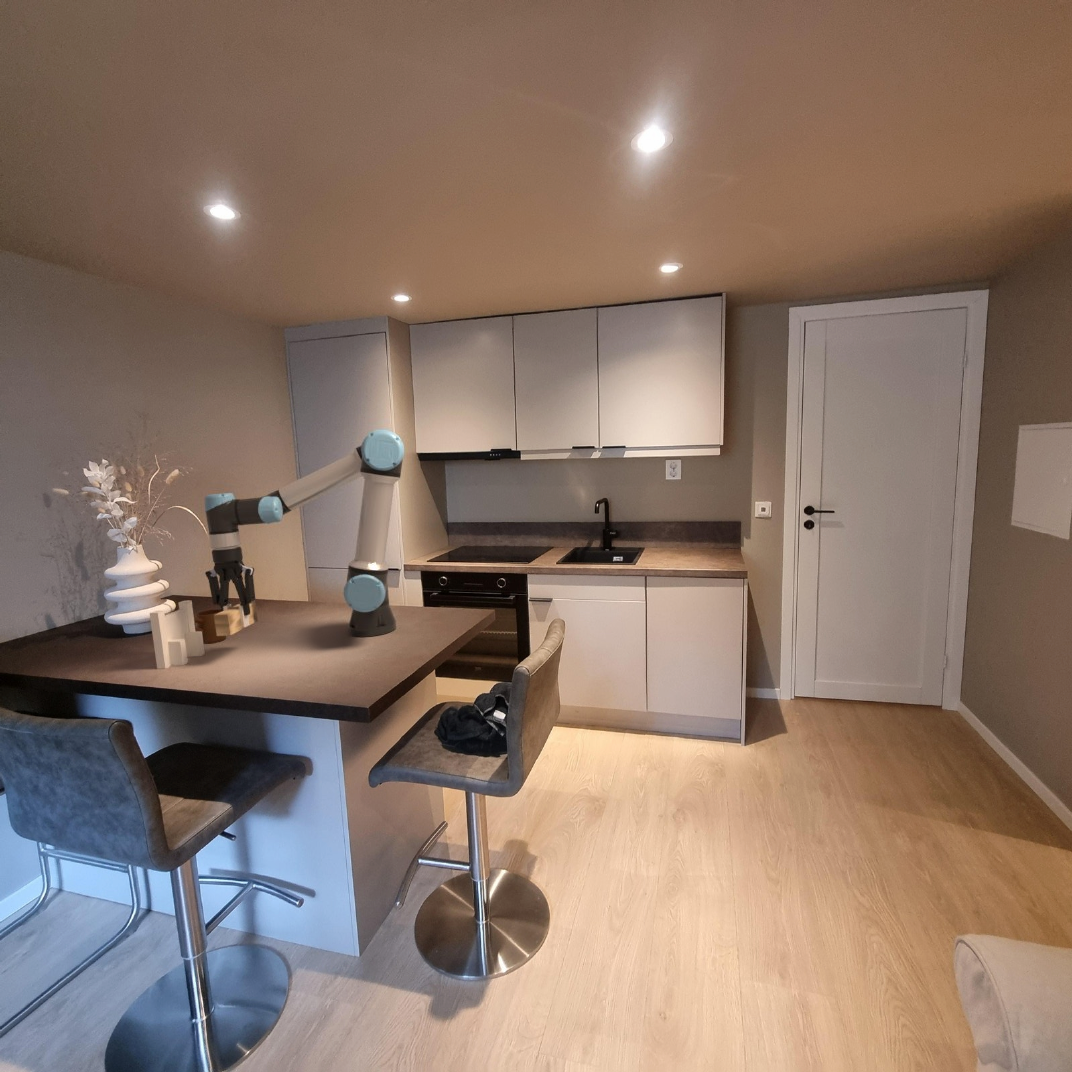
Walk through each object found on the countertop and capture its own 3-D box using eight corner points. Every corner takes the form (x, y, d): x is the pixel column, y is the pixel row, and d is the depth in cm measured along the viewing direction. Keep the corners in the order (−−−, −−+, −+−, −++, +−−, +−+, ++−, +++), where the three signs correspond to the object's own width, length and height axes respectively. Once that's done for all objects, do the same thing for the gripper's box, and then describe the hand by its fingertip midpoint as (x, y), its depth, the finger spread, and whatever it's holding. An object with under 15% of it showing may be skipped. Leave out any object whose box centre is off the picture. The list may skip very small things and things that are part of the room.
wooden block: (230, 635, 158) (227, 613, 157) (216, 636, 158) (213, 613, 157) (257, 620, 171) (255, 600, 171) (245, 621, 172) (242, 601, 171)
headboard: (209, 651, 171) (203, 600, 169) (177, 668, 158) (170, 612, 155) (190, 651, 172) (183, 600, 170) (157, 668, 158) (149, 613, 156)
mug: (198, 649, 174) (195, 619, 173) (181, 647, 177) (177, 618, 175) (232, 637, 185) (228, 609, 184) (215, 636, 188) (211, 608, 186)
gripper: (262, 543, 165) (273, 621, 168) (206, 547, 166) (218, 624, 169) (247, 547, 157) (259, 629, 160) (189, 551, 158) (201, 632, 162)
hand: (238, 626), depth 165 cm, fingers closed on wooden block, 4 cm apart
